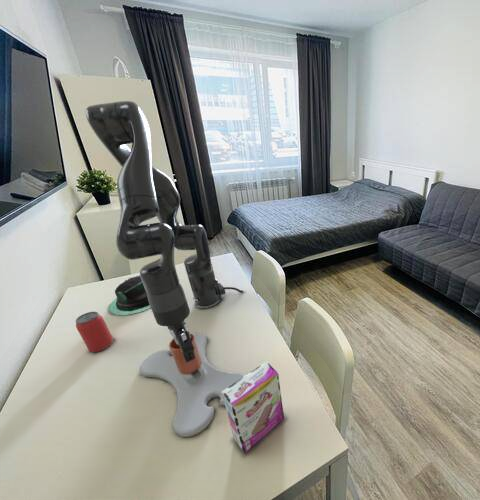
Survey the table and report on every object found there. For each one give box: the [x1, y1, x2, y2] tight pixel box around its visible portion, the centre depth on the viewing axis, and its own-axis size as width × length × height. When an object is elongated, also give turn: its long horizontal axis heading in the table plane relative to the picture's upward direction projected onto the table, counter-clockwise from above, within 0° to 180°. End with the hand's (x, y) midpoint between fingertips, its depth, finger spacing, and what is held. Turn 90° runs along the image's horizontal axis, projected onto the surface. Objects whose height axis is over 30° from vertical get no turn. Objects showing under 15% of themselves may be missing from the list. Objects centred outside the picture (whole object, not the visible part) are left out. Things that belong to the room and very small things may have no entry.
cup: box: [168, 332, 202, 374], centre depth 73 cm, size 6×6×9 cm
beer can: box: [75, 311, 114, 353], centre depth 87 cm, size 7×7×12 cm
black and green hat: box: [109, 275, 151, 316], centre depth 113 cm, size 15×19×20 cm
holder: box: [139, 332, 245, 438], centre depth 77 cm, size 19×34×5 cm, turn 49°
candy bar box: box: [222, 361, 285, 454], centre depth 61 cm, size 11×5×16 cm, turn 136°
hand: (185, 350), depth 73 cm, fingers open, 8 cm apart
